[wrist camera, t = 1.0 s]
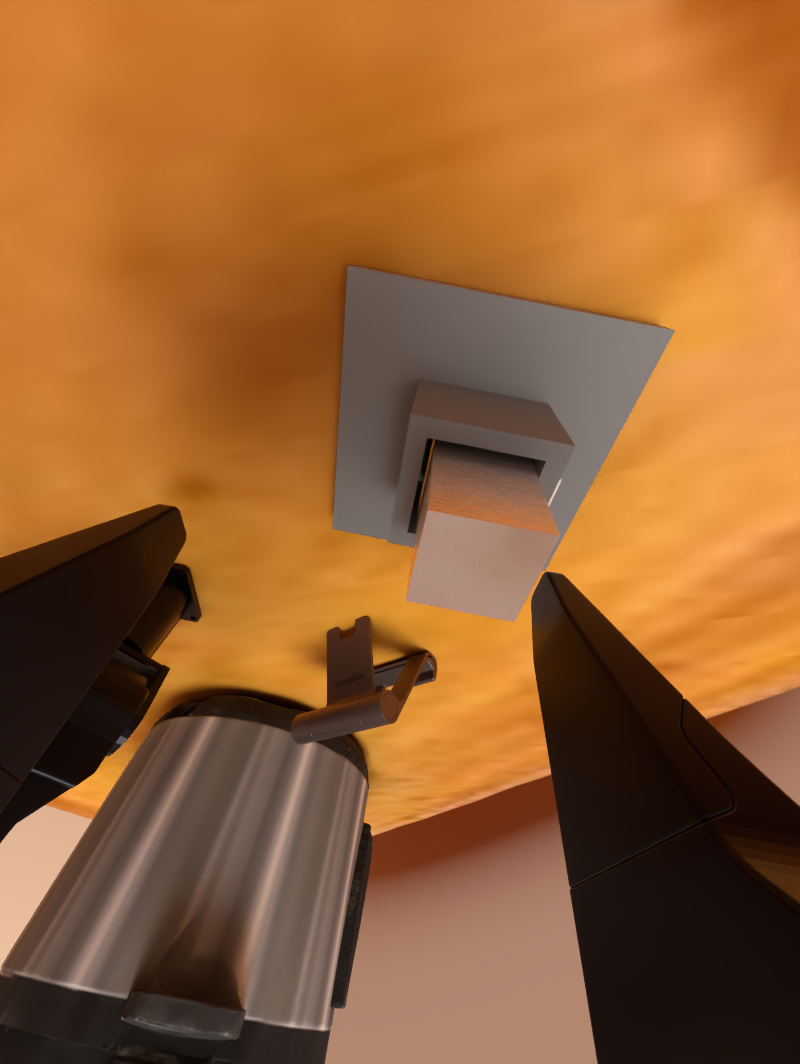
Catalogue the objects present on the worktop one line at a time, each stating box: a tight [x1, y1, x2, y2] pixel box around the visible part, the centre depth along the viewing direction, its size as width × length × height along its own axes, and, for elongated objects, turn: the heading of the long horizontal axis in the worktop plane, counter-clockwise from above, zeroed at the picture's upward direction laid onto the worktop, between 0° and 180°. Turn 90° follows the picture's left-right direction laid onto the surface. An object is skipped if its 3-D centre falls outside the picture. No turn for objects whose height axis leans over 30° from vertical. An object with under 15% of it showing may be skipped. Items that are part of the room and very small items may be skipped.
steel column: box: [406, 439, 560, 622], centre depth 16 cm, size 4×4×9 cm
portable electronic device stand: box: [291, 616, 437, 745], centre depth 30 cm, size 9×8×8 cm
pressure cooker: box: [0, 695, 373, 1064], centre depth 36 cm, size 30×28×32 cm
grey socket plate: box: [332, 265, 675, 571], centre depth 18 cm, size 14×14×6 cm
